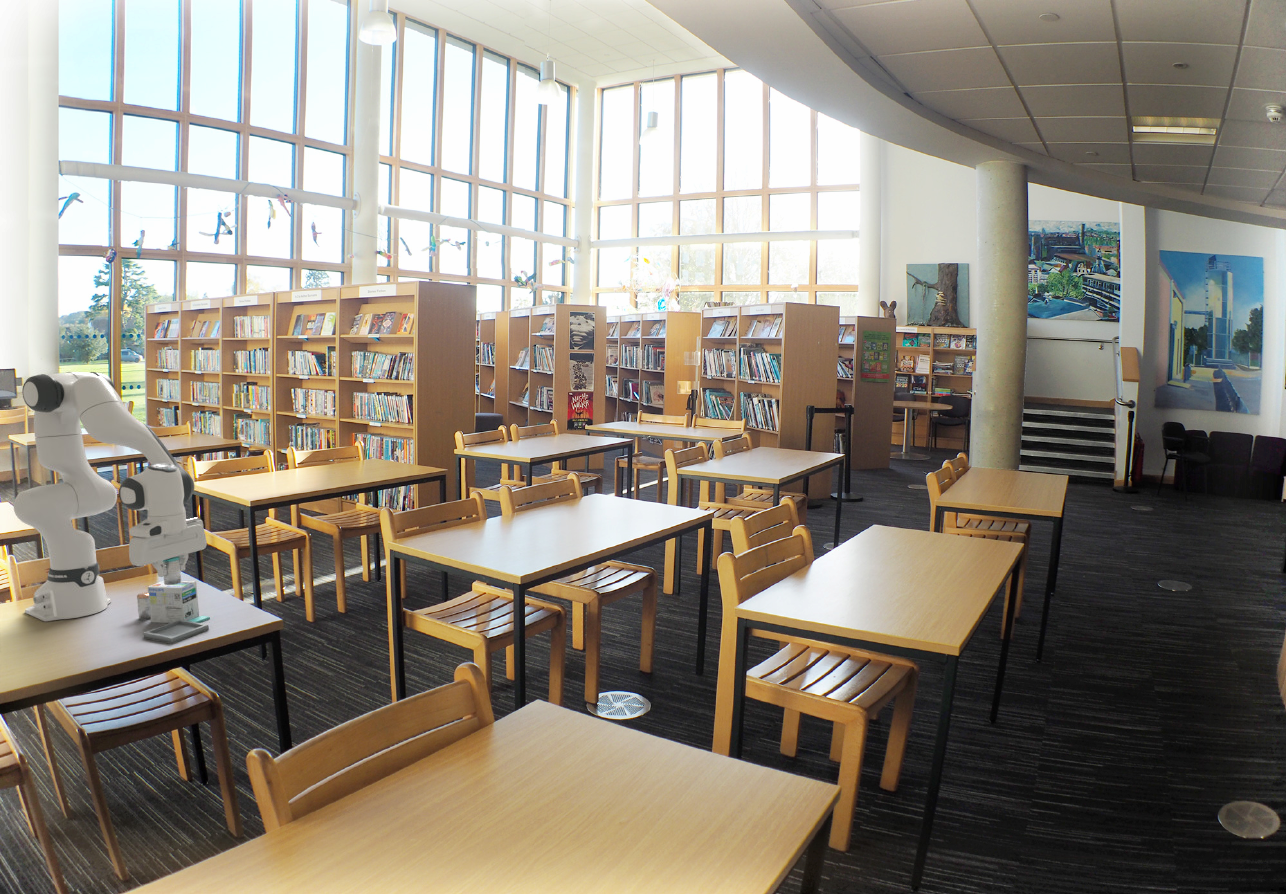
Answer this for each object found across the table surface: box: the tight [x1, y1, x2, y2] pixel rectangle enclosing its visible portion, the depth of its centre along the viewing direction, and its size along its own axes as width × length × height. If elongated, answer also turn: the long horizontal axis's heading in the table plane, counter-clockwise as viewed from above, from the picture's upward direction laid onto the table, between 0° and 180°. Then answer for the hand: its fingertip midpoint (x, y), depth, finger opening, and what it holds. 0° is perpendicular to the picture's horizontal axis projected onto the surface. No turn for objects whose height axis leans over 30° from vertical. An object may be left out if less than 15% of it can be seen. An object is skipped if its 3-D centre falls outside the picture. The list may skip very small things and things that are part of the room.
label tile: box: [188, 615, 211, 623], centre depth 225 cm, size 3×5×1 cm, turn 158°
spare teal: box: [162, 556, 182, 585], centre depth 213 cm, size 4×4×7 cm
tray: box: [142, 620, 210, 645], centre depth 215 cm, size 11×11×2 cm
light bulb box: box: [147, 579, 200, 624], centre depth 226 cm, size 11×7×11 cm, turn 84°
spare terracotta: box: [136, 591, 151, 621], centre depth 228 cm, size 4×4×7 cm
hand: (171, 573), depth 213 cm, fingers closed on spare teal, 4 cm apart
